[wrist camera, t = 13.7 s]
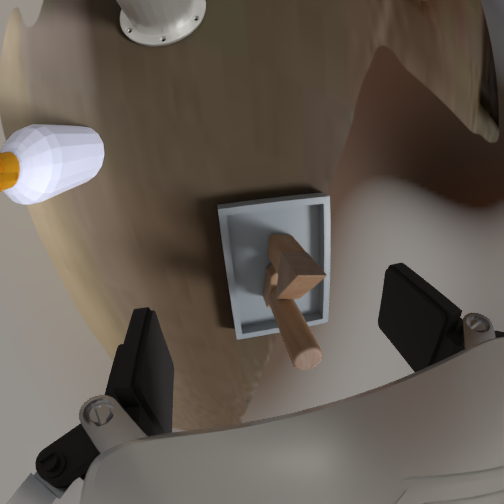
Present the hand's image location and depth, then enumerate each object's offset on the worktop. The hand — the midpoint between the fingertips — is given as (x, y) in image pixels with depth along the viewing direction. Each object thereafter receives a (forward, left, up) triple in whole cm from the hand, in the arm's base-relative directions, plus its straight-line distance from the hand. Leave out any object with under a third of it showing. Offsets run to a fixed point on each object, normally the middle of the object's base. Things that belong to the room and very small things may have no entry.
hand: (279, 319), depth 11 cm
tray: (+14, +7, -33) cm, 36 cm away
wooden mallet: (+13, +7, -32) cm, 35 cm away
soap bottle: (-8, -20, -33) cm, 40 cm away
